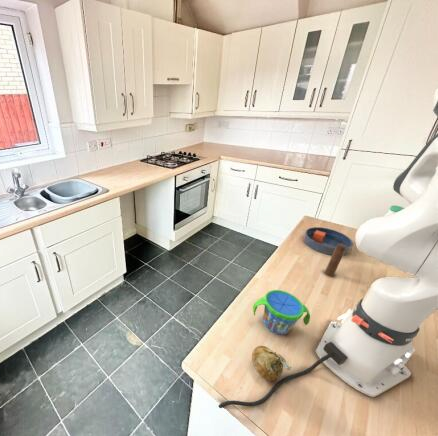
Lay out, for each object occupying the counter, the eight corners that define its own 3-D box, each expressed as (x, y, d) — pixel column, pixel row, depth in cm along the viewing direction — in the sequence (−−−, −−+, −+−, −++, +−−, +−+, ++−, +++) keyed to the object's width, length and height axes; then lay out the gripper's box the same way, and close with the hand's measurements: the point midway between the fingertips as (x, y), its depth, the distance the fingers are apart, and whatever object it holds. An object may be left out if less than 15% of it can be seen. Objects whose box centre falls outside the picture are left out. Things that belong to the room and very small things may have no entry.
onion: (271, 354, 68) (278, 336, 65) (286, 385, 61) (295, 367, 58) (245, 355, 68) (250, 337, 65) (257, 386, 61) (263, 368, 58)
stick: (330, 277, 95) (344, 248, 88) (322, 272, 98) (335, 244, 91) (335, 274, 96) (348, 246, 90) (327, 270, 99) (339, 242, 92)
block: (321, 243, 115) (324, 236, 113) (311, 240, 117) (314, 233, 115) (323, 239, 117) (326, 232, 115) (313, 236, 119) (316, 229, 118)
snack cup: (300, 318, 79) (310, 296, 74) (307, 347, 70) (318, 324, 65) (249, 306, 84) (255, 284, 79) (249, 331, 75) (256, 308, 70)
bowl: (336, 262, 103) (340, 253, 101) (294, 241, 117) (297, 234, 115) (356, 248, 111) (360, 240, 109) (315, 231, 125) (318, 223, 123)
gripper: (389, 207, 89) (347, 226, 96) (425, 236, 72) (371, 256, 79) (398, 219, 90) (356, 237, 97) (436, 251, 72) (381, 269, 80)
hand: (363, 246), depth 88 cm, fingers open, 8 cm apart
